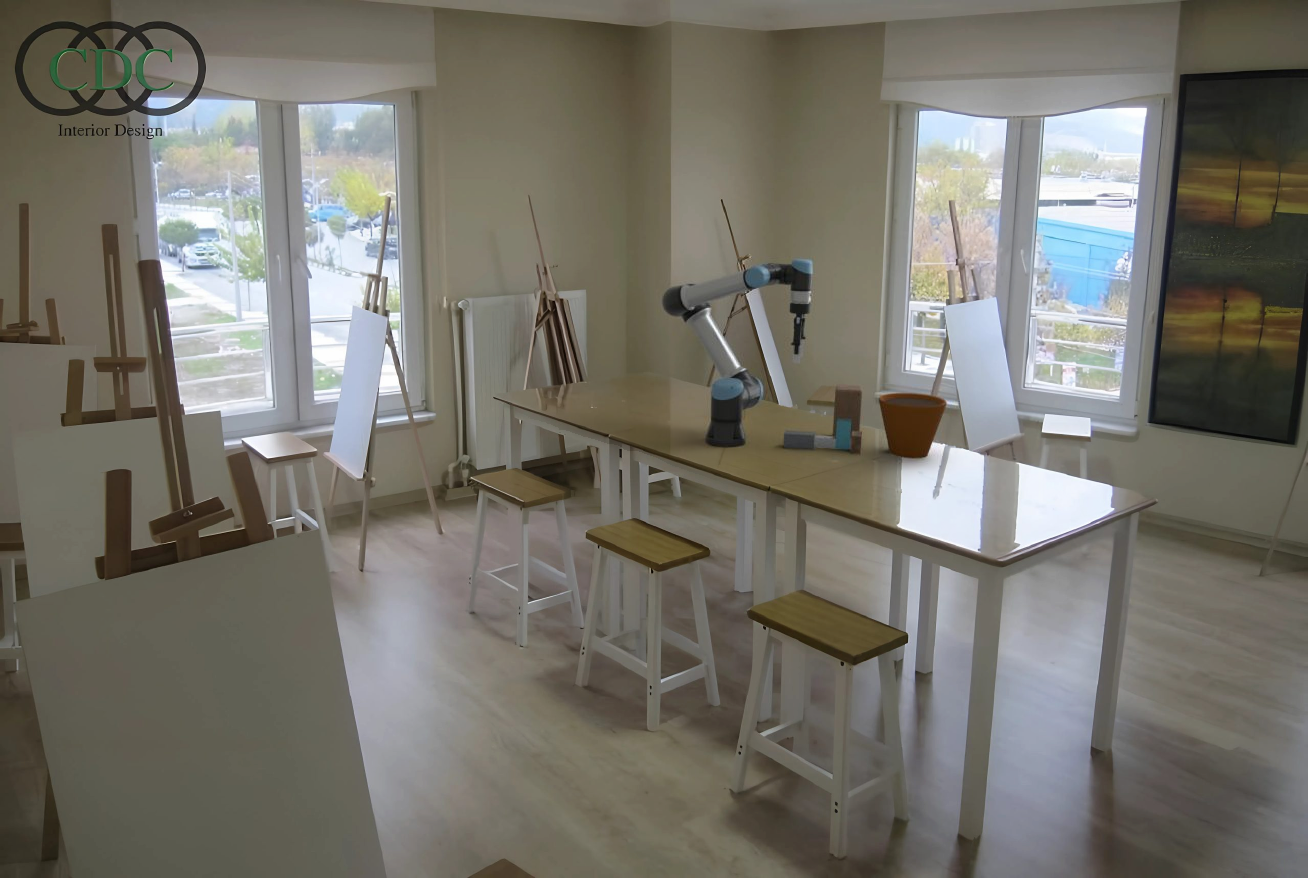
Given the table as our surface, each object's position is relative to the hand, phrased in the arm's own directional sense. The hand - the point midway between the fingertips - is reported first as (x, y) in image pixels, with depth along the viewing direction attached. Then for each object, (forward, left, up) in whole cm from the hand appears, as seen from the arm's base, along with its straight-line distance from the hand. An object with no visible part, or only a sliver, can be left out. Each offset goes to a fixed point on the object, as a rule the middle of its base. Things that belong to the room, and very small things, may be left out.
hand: (797, 360), depth 386 cm
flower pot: (+42, -3, -32) cm, 53 cm away
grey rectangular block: (+3, -5, -32) cm, 32 cm away
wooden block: (+19, +14, -32) cm, 40 cm away
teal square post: (+15, -5, -31) cm, 35 cm away
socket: (+23, -5, -32) cm, 40 cm away
